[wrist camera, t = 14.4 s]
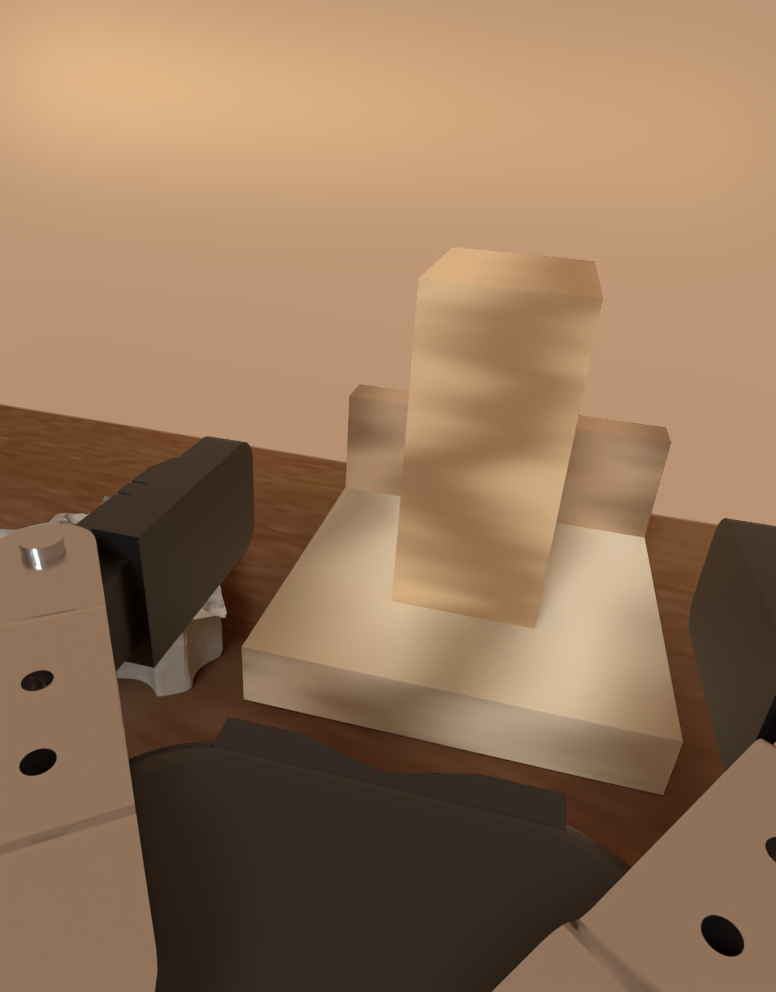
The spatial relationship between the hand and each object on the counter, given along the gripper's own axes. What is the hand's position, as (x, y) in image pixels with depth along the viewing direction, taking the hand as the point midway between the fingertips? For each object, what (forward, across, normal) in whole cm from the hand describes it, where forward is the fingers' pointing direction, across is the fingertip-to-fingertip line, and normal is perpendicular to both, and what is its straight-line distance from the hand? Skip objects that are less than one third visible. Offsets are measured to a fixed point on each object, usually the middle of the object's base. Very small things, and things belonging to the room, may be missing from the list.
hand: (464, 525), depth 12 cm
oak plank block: (+10, 0, +7) cm, 12 cm away
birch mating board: (+10, 0, +9) cm, 13 cm away
